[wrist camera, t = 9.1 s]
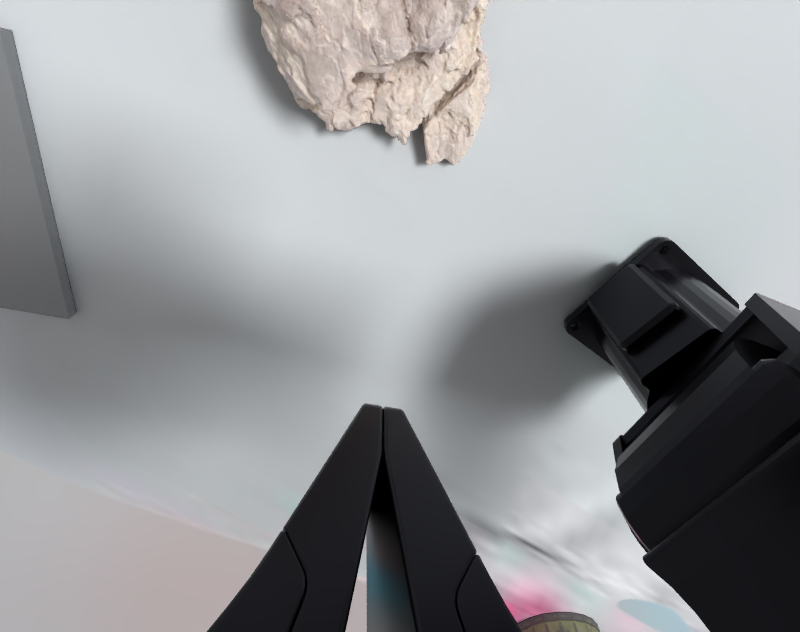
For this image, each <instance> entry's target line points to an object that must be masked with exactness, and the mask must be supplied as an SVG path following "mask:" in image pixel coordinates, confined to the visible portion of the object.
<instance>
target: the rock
mask: <svg viewBox="0 0 800 632" xmlns="http://www.w3.org/2000/svg"><path fill="white" fill-rule="evenodd" d="M489 1H490V0H253V5H254V9H255V11H256V12H257V13H259V15H260V16H261V20H262V23H261V35H262V37H263V39H264V41H265V44H266V46H267V50H268V51H269V52H270V53H271V55H272V56H273V58H274V60H275V61H276V63H277V68H278V70H279V72H280V73H281V74H282V76H283V77H284V78H285V80H286V82H287V84H288V86H289V89H290V90H291V92H292V93H293V95H294V98H295V100H296V102H297V103H298V104H299V106H300V107H301V108H303V109H304V110H305V109H308V108H309V109H311V111H312V112H315V113H316V114H317V116H318V117H319V118H320V119H322V120H323V121H324V122H325V123H326V128H327V129H328V130H329V131H330V132H333V129H335V128H337V129H338V130H343V131H352V129H354V128H357V127H359V126H360V125H362V124H365V123H370V122H371V123H373V124H380V125H381V123H382V124H383V125H384V127H385V131H386V132H387V133H388V134H389V135H391V136H392V137H393V138H395V137H396V136H397V137H398V140H400V141H401V143H402V144H403V145H406V144H407V140H406V138H408V137H409V136H410V131H414V130H415V129H417V128H418V126H419V124H421V123H422V126H423V135H424V145H425V151H426V158H427V159H426V163H427V164H434V163H438V162H440V161H442V160H443V159H447V160H448V161H449V162H450V163H451V164H452V165H455V164H456V163H457V162H460V160H461V159H462V157H463V156H464V155H465V154H466V153H467V149H469V148H470V146H471V144H472V142H473V139H474V138H475V136H474V135H475V134H476V132H477V129H478V127H479V125H480V123H481V120H482V117H483V115H482V114H483V112H484V111H485V107H486V104H485V102H484V98H485V97H486V96H487V94H488V92H489V91H490V89H491V88H490V83H489V70H488V69H489V68H488V64H487V63H488V58H487V57H486V56H485V54H484V52H483V51H482V49H481V46H482V44H483V39H481V38H480V30H481V25H482V23H483V20H484V18H485V13H486V10H487V8H488V3H489Z"/></svg>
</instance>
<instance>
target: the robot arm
mask: <svg viewBox="0 0 800 632" xmlns="http://www.w3.org/2000/svg"><path fill="white" fill-rule="evenodd" d="M665 245H666V248H665V249H664V250H663V251H661V252H660V249H661V248H662V247H663V246H665ZM745 306H746V308H745V309H744V310H743V311H742V312H741V311H740V310H739V304H738V303H737V302H736V301H735V300H734V299H733V298H732V297H731V296H730V295H729V294H728V293H727V292H726V291H725V290H724V289H723V288H721V287H720V286H719V285H718V284H717V283H716V282H715V281H714V280H713V279H712V278H711V277H710V276H709V275H708V274H707V273H706V272H705V271H704V270H703V269H702V268H701V267H699V266H698V265H697V264H696V263H695V262H694V261H693V260H692V259H691V258H690V257H689V256H688V255H687V254H686V253H685V252H684V251H683V250H682V249H681V248H680V247H679V246H677V245H676V244H675V243H674V242H673V241H672V240H670V239H668V238H665V237H662V238H659V239H657V240H656V241H654V242H653V243H652V244H651V245H650V246H648V247H647V248H646V249H645V250H644V251H643V252H642V253H640V254H639V255H638V256H637V257H636V258H635V259H634V260H632V261H631V262H630V263H629V264H628V265H626V266H625V267H624V268H623V269H622V270H620V271H619V272H618V273H617V274H616V275H615V276H614V277H612V278H611V279H610V280H609V281H608V282H607V283H606V284H604V285H603V286H602V287H601V288H600V289H599V290H598V291H596V292H595V293H594V294H593V295H592V296H591V297H590V298H589V299H588V300H587V301H586V302H584V303H583V304H582V305H581V306H580V307H579V308H578V309H576V310H575V311H574V312H573V313H572V314H571V315H570V316H569V317H567V318H566V320H565V321H564V327H565V329H566V331H567V332H568V333H569V334H570V335H572V336H573V337H574V338H576V339H577V340H578V341H580V342H581V343H583V344H584V345H585V346H587V347H588V348H589V349H591V350H592V351H593V352H595V353H596V354H597V355H599V356H600V357H601V358H603V359H604V360H605V361H607V362H608V363H609V364H611V365H612V366H614V367H615V368H616V369H617V371H618V372H619V374H620V375H621V377H622V378H623V380H624V381H625V383H626V384H627V386H628V387H629V389H630V390H631V392H632V393H633V395H634V396H635V398H636V399H637V401H638V402H639V404H640V405H641V407H642V408H643V409H644V411H645V413H644V415H643V416H642V417H641V418H640V419H639V420H638V421H637V422H636V423H635V424H634V425H633V426H632V427H631V428H630V429H629V430H628V431H627V432H626V433H625V434H624V435H620V436H619V437H618V438H617V439H616V440H615V441H614V442H613V449H614V456H615V462H616V468H615V473H616V477H617V482H618V487H619V490H620V493H619V494H618V495H617V496H616V501H617V504H618V507H619V509H620V511H621V513H622V514H623V516H624V518H625V520H626V522H627V524H628V525H629V527H630V530H631V532H632V533H633V535H634V536H635V538H636V539H637V541H638V542H639V544H640V545H641V546H642V547H643V548H644V550H645V551H646V552H647V554H645V555H644V556H643V560H644V562H645V564H646V565H647V566H648V567H649V568H650V569H651V570H653V571H654V572H655V573H656V574H657V575H658V576H660V577H661V578H662V579H663V580H664V581H665V582H667V583H668V584H669V585H670V586H671V587H672V588H673V589H674V590H675V591H676V592H677V593H678V594H679V595H680V596H681V597H682V599H683V600H684V601H685V602H686V603H687V604H688V605H689V606H690V607H691V608H692V609H693V610H694V612H695V613H696V614H697V615H698V616H699V618H700V619H701V620H702V622H703V623H704V624H705V626H706V627H707V628H708V629H709V631H710V632H800V310H797V309H795V308H792V307H790V306H787V305H785V304H782V303H780V302H778V301H775V300H773V299H770V298H768V297H765V296H763V295H760V294H758V293H755V294H754V295H753V296H752V297H751V298H750V299H749V300H748V301H747V302H746V303H745ZM574 323H577V325H576V326H573V327H571V325H572V324H574ZM366 530H367V632H522V630H521V629H520V627H519V625H518V624H517V622H516V621H515V619H514V617H513V616H512V614H511V613H510V611H509V609H508V608H507V606H506V604H505V603H504V601H503V599H502V597H501V595H500V594H499V592H498V590H497V588H496V586H495V585H494V583H493V581H492V579H491V577H490V576H489V574H488V572H487V570H486V568H485V566H484V564H483V562H482V560H481V558H480V556H479V555H476V549H475V547H474V545H473V543H472V541H471V540H470V538H469V536H468V534H467V532H466V530H465V528H464V526H463V524H462V522H461V520H460V518H459V517H458V515H457V513H456V511H455V509H454V507H453V505H452V503H451V501H450V499H449V497H448V496H447V494H446V492H445V490H444V488H443V486H442V484H441V482H440V480H439V478H438V476H437V475H436V473H435V471H434V469H433V467H432V465H431V463H430V461H429V459H428V457H427V455H426V454H425V452H424V450H423V448H422V446H421V444H420V442H419V440H418V438H417V436H416V434H415V432H414V431H413V429H412V427H411V425H410V423H409V421H408V419H407V417H406V415H405V413H404V412H403V410H401V409H398V408H391V407H384V408H383V409H382V407H381V406H379V405H372V404H364V405H363V406H362V407H361V408H360V410H359V411H358V413H357V415H356V416H355V418H354V419H353V421H352V422H351V424H350V425H349V427H348V429H347V430H346V432H345V433H344V435H343V436H342V438H341V439H340V441H339V443H338V444H337V446H336V447H335V449H334V450H333V452H332V453H331V455H330V456H329V458H328V460H327V461H326V463H325V464H324V466H323V467H322V469H321V470H320V472H319V474H318V475H317V477H316V478H315V480H314V481H313V483H312V484H311V486H310V487H309V489H308V491H307V492H306V494H305V495H304V497H303V498H302V500H301V501H300V503H299V505H298V506H297V508H296V509H295V511H294V512H293V514H292V515H291V517H290V518H289V520H288V522H287V523H286V525H285V526H284V528H283V531H281V532H280V534H279V535H278V537H277V538H276V540H275V541H274V543H273V544H272V546H271V547H270V549H269V550H268V552H267V553H266V555H265V556H264V558H263V559H262V561H261V562H260V564H259V565H258V567H257V568H256V569H255V571H254V572H253V574H252V575H251V577H250V578H249V579H248V581H247V582H246V583H245V584H244V586H243V587H242V588H241V590H240V591H239V592H238V593H237V595H236V596H235V597H234V599H233V600H232V601H231V602H230V604H229V605H228V606H227V608H226V609H225V610H224V611H223V613H222V614H221V615H220V616H219V617H218V619H217V620H216V621H215V622H214V624H213V625H212V626H211V627H210V628H209V630H208V631H207V632H345V630H346V625H347V621H348V616H349V611H350V606H351V601H352V597H353V592H354V587H355V583H356V578H357V573H358V568H359V563H360V559H361V554H362V549H363V544H364V540H365V535H366Z"/></svg>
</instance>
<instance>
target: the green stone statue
mask: <svg viewBox="0 0 800 632" xmlns="http://www.w3.org/2000/svg"><path fill="white" fill-rule="evenodd" d="M518 625H519V627H520V629H521V630H522V632H600V631H599V628H598V625H597V623H596V622H595V621H594V620H593V619H591V618H589V617H587V616H585V615H581V614H576V613H569V612H555V613H547V614H541V615H538V616H534V617H531V618H529V619H527V620H524V621H522V622H520V623H519V624H518Z"/></svg>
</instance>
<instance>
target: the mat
mask: <svg viewBox="0 0 800 632" xmlns="http://www.w3.org/2000/svg"><path fill="white" fill-rule="evenodd" d="M0 307H1V308H7V309H13V310H19V311H25V312H31V313H37V314H43V315H49V316H55V317H61V318H67V319H69V318H71V317H72V316H73V315H74V314H76V310H75V305H74V301H73V297H72V292H71V288H70V283H69V279H68V275H67V270H66V266H65V262H64V257H63V253H62V248H61V244H60V240H59V235H58V231H57V227H56V222H55V218H54V213H53V209H52V205H51V200H50V196H49V191H48V187H47V183H46V178H45V174H44V170H43V165H42V161H41V156H40V152H39V148H38V143H37V139H36V135H35V130H34V126H33V121H32V117H31V113H30V108H29V104H28V100H27V95H26V91H25V86H24V82H23V78H22V73H21V69H20V65H19V60H18V56H17V51H16V47H15V43H14V38H13V34H12V30H8V29H4V28H0Z"/></svg>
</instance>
